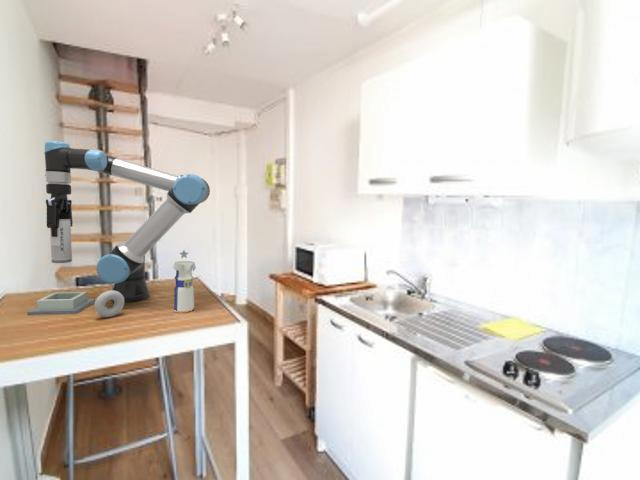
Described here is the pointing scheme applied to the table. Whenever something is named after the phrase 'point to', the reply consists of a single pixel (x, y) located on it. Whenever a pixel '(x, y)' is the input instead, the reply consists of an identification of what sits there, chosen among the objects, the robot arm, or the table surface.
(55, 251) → the travel mug
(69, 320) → the table surface
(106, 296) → the donut
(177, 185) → the robot arm
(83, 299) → the dock
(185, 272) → the water bottle
